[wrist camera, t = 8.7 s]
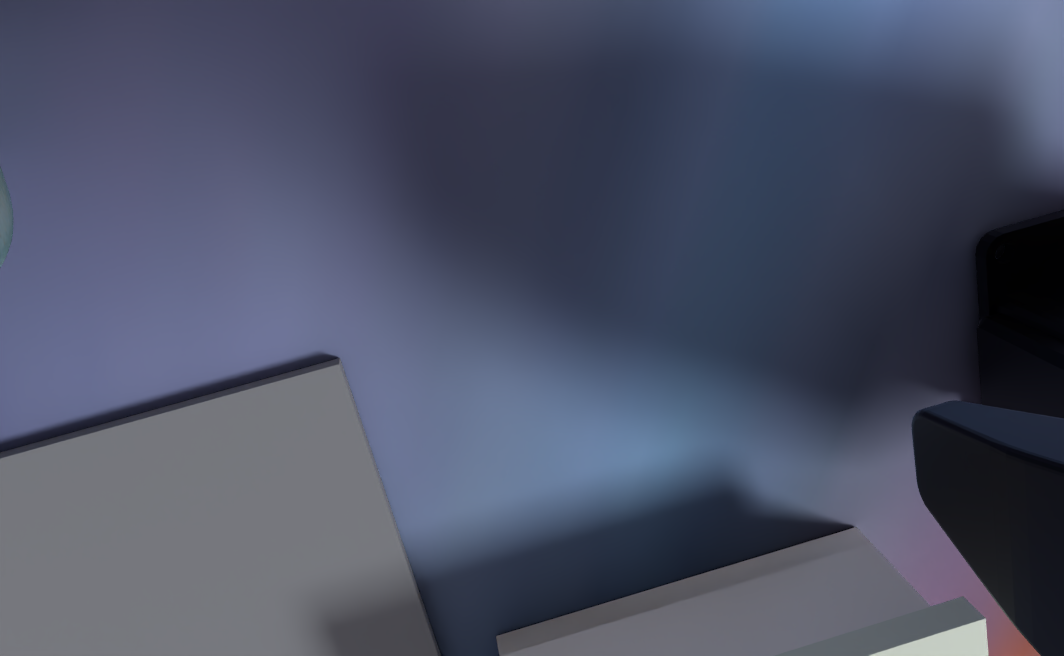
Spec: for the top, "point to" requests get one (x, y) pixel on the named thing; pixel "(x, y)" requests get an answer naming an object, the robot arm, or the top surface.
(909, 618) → the lid
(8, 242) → the flower pot
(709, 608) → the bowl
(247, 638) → the mat
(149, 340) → the top surface
